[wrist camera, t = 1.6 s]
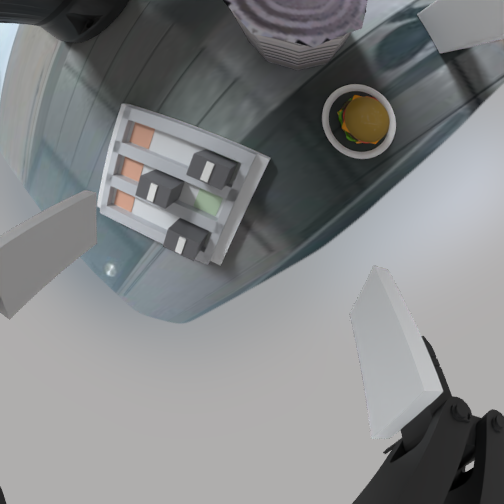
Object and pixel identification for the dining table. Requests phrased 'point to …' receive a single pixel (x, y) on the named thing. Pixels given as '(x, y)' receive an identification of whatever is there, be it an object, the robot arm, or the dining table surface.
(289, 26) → the can
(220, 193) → the panel
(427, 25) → the milk
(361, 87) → the hamburger
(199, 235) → the breaker far
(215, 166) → the breaker near
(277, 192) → the dining table surface
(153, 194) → the breaker mid
